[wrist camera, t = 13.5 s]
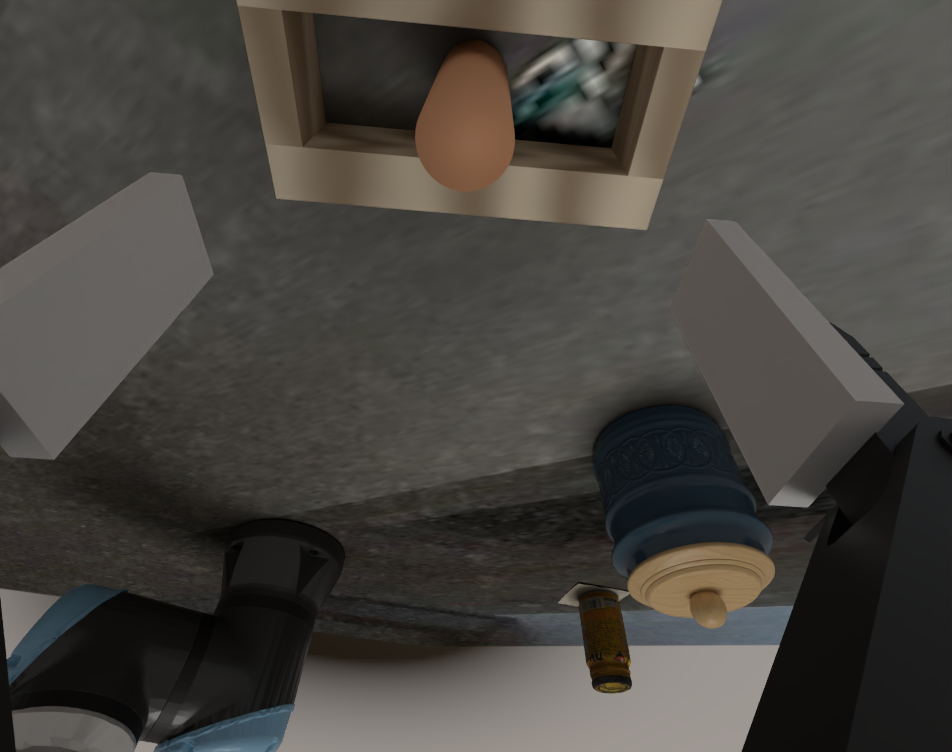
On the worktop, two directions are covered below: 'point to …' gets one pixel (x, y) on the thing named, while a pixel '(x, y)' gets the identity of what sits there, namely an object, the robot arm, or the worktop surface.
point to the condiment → (603, 636)
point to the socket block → (533, 163)
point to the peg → (467, 119)
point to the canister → (681, 515)
